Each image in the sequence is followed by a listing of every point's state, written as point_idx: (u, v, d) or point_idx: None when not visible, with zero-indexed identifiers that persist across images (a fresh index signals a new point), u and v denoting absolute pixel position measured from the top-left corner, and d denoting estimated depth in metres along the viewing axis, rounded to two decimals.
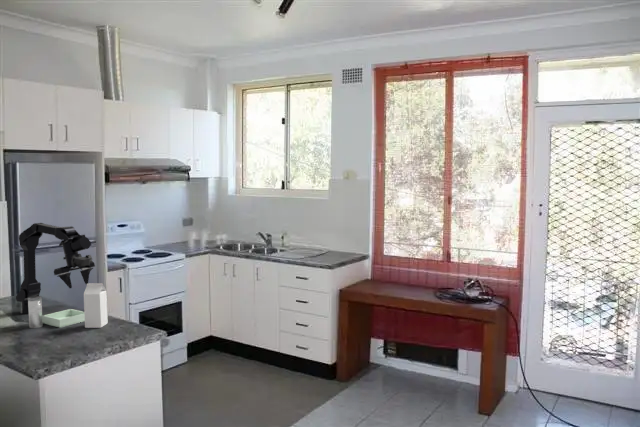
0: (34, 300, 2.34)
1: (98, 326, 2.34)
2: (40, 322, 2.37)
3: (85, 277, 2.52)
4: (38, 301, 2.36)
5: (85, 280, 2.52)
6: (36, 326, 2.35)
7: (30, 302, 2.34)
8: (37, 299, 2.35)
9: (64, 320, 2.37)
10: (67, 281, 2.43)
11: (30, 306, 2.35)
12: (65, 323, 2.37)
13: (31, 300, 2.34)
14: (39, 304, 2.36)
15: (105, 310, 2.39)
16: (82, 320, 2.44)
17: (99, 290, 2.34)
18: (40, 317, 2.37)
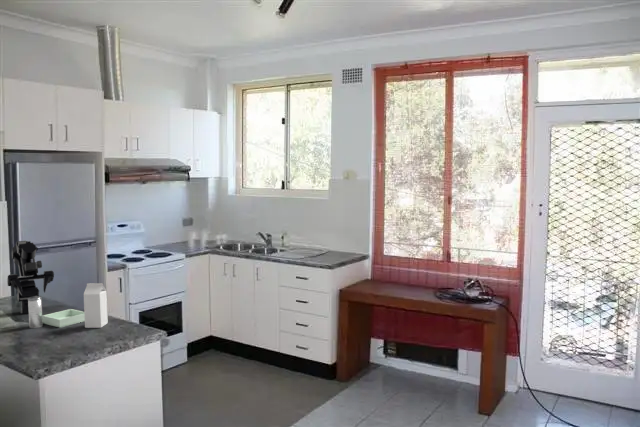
0: (34, 300, 2.34)
1: (98, 326, 2.34)
2: (40, 322, 2.37)
3: (43, 285, 2.48)
4: (38, 301, 2.36)
5: None
6: (36, 326, 2.35)
7: (30, 302, 2.34)
8: (37, 299, 2.35)
9: (64, 320, 2.37)
10: (18, 288, 2.42)
11: (30, 306, 2.35)
12: (65, 323, 2.37)
13: (31, 300, 2.34)
14: (39, 304, 2.36)
15: (105, 310, 2.39)
16: (82, 320, 2.44)
17: (99, 290, 2.34)
18: (40, 317, 2.37)
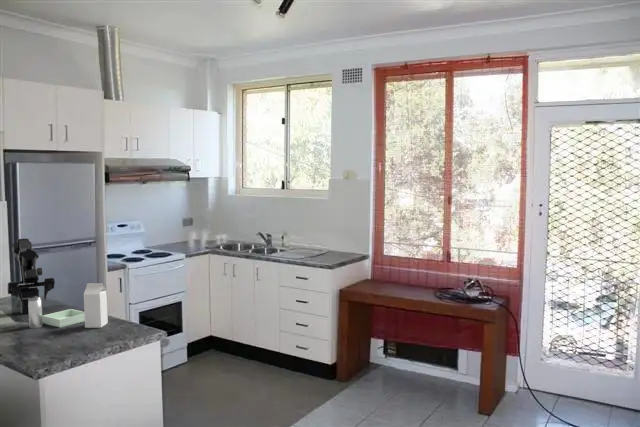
0: (34, 300, 2.34)
1: (98, 326, 2.34)
2: (40, 322, 2.37)
3: (44, 293, 2.44)
4: (38, 301, 2.36)
5: (44, 296, 2.44)
6: (36, 326, 2.35)
7: (30, 302, 2.34)
8: (37, 299, 2.35)
9: (64, 320, 2.37)
10: (18, 296, 2.38)
11: (30, 306, 2.35)
12: (65, 323, 2.37)
13: (31, 300, 2.34)
14: (39, 304, 2.36)
15: (105, 310, 2.39)
16: (82, 320, 2.44)
17: (99, 290, 2.34)
18: (40, 317, 2.37)
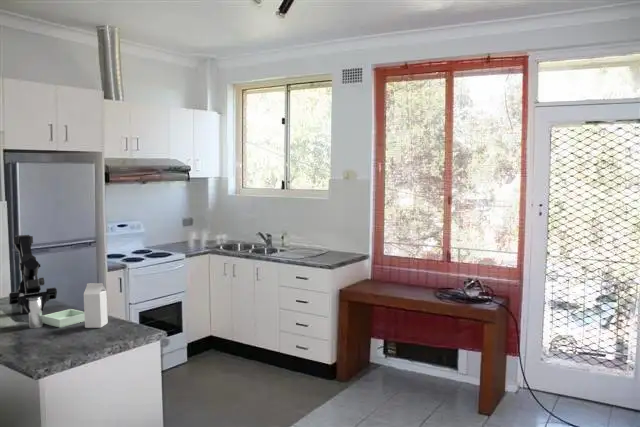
0: (34, 300, 2.34)
1: (98, 326, 2.34)
2: (40, 322, 2.37)
3: None
4: (38, 301, 2.36)
5: None
6: (36, 326, 2.35)
7: (30, 302, 2.34)
8: (37, 299, 2.35)
9: (64, 320, 2.37)
10: (24, 306, 2.35)
11: (30, 306, 2.35)
12: (65, 323, 2.37)
13: (31, 300, 2.34)
14: (39, 304, 2.36)
15: (105, 310, 2.39)
16: (82, 320, 2.44)
17: (99, 290, 2.34)
18: (40, 317, 2.37)
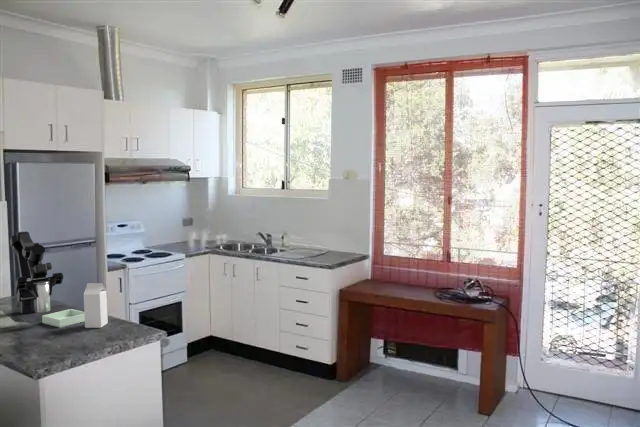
0: (43, 284, 2.36)
1: (98, 326, 2.34)
2: (48, 306, 2.38)
3: (49, 288, 2.41)
4: (46, 285, 2.37)
5: None
6: (44, 311, 2.37)
7: (39, 286, 2.35)
8: (46, 283, 2.37)
9: (64, 320, 2.37)
10: (32, 290, 2.36)
11: (38, 290, 2.36)
12: (65, 323, 2.37)
13: (40, 284, 2.35)
14: (47, 288, 2.38)
15: (105, 310, 2.39)
16: (82, 320, 2.44)
17: (99, 290, 2.34)
18: (48, 301, 2.38)
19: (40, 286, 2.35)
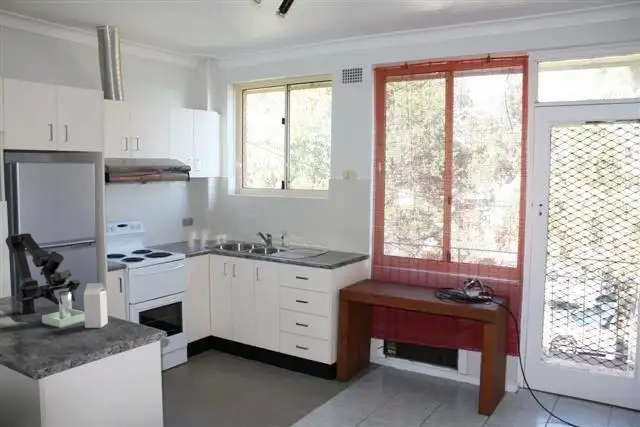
0: (67, 294, 2.42)
1: (98, 326, 2.34)
2: (71, 315, 2.45)
3: None
4: (70, 295, 2.44)
5: (72, 297, 2.47)
6: None
7: (63, 296, 2.41)
8: (70, 293, 2.43)
9: (64, 320, 2.37)
10: (53, 298, 2.40)
11: (63, 300, 2.42)
12: (65, 323, 2.37)
13: (64, 294, 2.41)
14: (71, 298, 2.44)
15: (105, 310, 2.39)
16: (82, 320, 2.44)
17: (99, 290, 2.34)
18: (71, 310, 2.45)
19: (65, 296, 2.42)
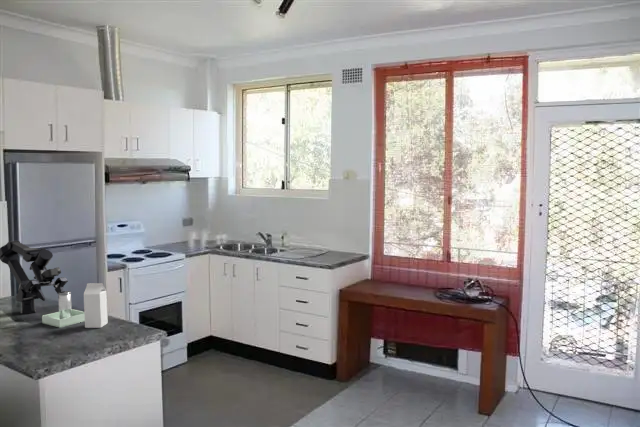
0: (67, 294, 2.42)
1: (98, 326, 2.34)
2: (71, 315, 2.45)
3: (59, 291, 2.54)
4: (69, 295, 2.44)
5: None
6: None
7: (62, 297, 2.41)
8: (69, 293, 2.43)
9: (64, 320, 2.37)
10: (39, 294, 2.44)
11: (62, 300, 2.42)
12: (65, 323, 2.37)
13: (64, 294, 2.41)
14: (70, 298, 2.44)
15: (105, 310, 2.39)
16: (82, 320, 2.44)
17: (99, 290, 2.34)
18: (71, 310, 2.45)
19: (64, 296, 2.42)
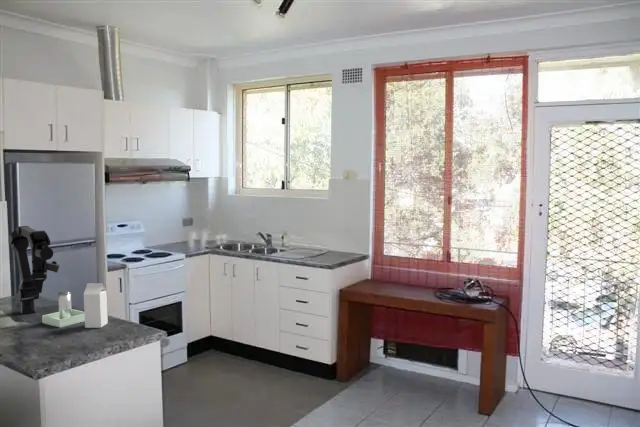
0: (67, 294, 2.42)
1: (98, 326, 2.34)
2: (71, 315, 2.45)
3: None
4: (69, 295, 2.44)
5: None
6: None
7: (62, 297, 2.41)
8: (69, 293, 2.43)
9: (64, 320, 2.37)
10: (40, 286, 2.45)
11: (62, 300, 2.42)
12: (65, 323, 2.37)
13: (64, 294, 2.41)
14: (70, 298, 2.44)
15: (105, 310, 2.39)
16: (82, 320, 2.44)
17: (99, 290, 2.34)
18: (71, 310, 2.45)
19: (64, 296, 2.42)
